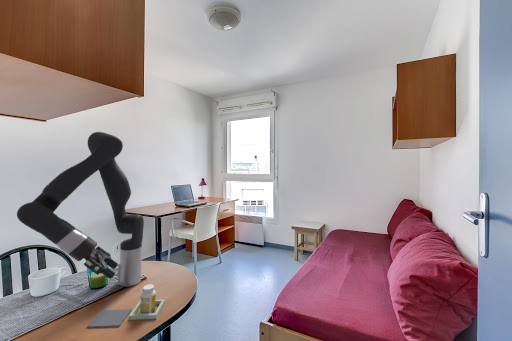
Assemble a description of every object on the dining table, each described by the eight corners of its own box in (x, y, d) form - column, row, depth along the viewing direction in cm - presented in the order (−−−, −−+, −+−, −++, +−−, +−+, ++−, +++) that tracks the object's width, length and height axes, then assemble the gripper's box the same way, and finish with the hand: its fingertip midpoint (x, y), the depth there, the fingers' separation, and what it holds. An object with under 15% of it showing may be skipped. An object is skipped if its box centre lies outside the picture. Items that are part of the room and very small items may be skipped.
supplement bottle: (142, 317, 85) (143, 292, 84) (138, 310, 88) (139, 286, 88) (157, 311, 88) (157, 287, 88) (152, 304, 92) (153, 281, 92)
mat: (86, 327, 78) (86, 326, 78) (102, 311, 87) (102, 310, 87) (119, 326, 79) (119, 325, 79) (131, 310, 88) (131, 309, 88)
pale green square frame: (128, 319, 83) (128, 315, 83) (140, 303, 93) (140, 299, 93) (156, 318, 84) (156, 314, 84) (164, 302, 94) (164, 299, 94)
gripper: (81, 241, 73) (121, 270, 78) (91, 231, 86) (125, 256, 91) (60, 260, 71) (102, 289, 76) (73, 246, 84) (109, 271, 88)
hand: (114, 271), depth 83 cm, fingers open, 8 cm apart
